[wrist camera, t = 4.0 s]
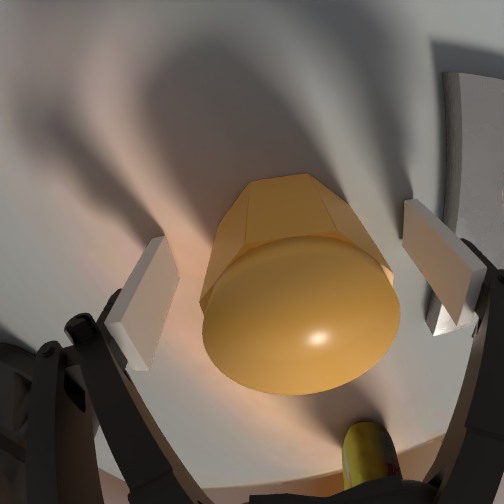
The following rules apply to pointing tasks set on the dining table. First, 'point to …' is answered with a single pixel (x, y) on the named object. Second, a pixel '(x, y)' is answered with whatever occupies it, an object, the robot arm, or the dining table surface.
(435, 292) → the robot arm
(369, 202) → the dining table surface
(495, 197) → the plate
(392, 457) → the bottle
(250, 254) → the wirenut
